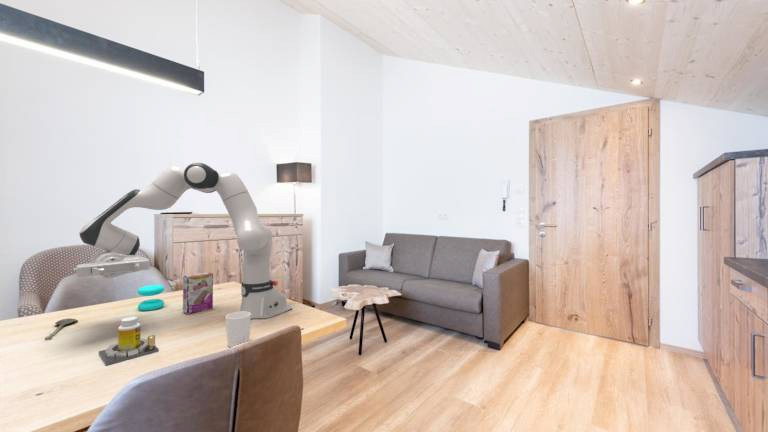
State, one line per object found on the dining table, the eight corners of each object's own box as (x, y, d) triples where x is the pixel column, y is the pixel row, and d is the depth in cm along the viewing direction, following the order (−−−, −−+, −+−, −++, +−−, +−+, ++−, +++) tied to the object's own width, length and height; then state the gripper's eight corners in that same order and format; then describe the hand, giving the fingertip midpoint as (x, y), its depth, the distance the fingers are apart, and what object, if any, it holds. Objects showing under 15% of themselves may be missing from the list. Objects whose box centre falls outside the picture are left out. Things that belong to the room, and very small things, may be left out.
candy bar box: (187, 314, 141) (187, 277, 140) (182, 312, 144) (182, 275, 143) (213, 308, 150) (213, 273, 149) (208, 306, 153) (208, 271, 152)
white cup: (241, 350, 106) (241, 319, 105) (220, 348, 107) (220, 317, 107) (255, 340, 113) (255, 312, 113) (235, 338, 115) (235, 310, 115)
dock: (148, 341, 112) (147, 327, 112) (158, 351, 105) (158, 336, 104) (98, 353, 103) (98, 338, 103) (106, 365, 95) (105, 349, 95)
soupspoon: (80, 322, 134) (59, 326, 131) (80, 314, 134) (58, 317, 131) (60, 339, 115) (34, 343, 112) (59, 329, 115) (33, 334, 112)
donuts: (148, 284, 155) (169, 284, 155) (148, 305, 155) (169, 305, 155) (131, 289, 145) (154, 289, 145) (132, 311, 145) (154, 311, 145)
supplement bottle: (138, 352, 102) (137, 320, 101) (115, 356, 99) (115, 322, 99) (142, 345, 107) (142, 314, 107) (121, 348, 104) (121, 317, 104)
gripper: (72, 260, 112) (77, 264, 103) (143, 254, 128) (154, 257, 119) (72, 278, 112) (77, 284, 103) (144, 269, 128) (154, 274, 119)
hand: (119, 269), depth 111 cm, fingers open, 8 cm apart
